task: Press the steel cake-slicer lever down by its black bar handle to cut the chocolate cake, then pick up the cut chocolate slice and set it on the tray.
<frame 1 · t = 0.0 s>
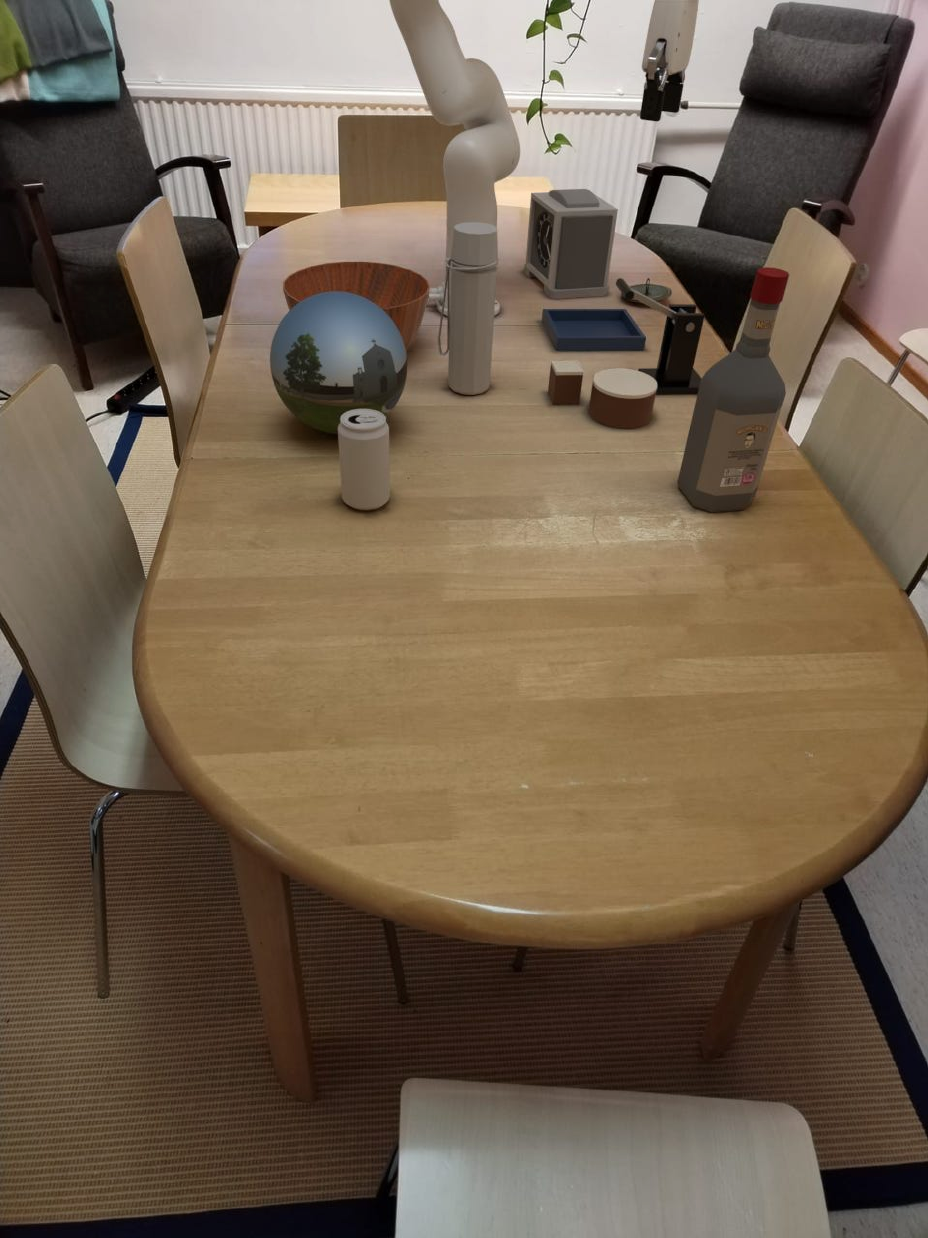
hand: (659, 115, 134), 37 cm above the table, tool pointing down, fingers open, 9 cm apart
decorative sphere: (343, 428, 128), on the table
alarm clock: (564, 283, 184), on the table
slicer: (671, 384, 145), on the table
beverage can: (366, 501, 113), on the table
cake: (619, 414, 135), on the table
liquor: (713, 496, 117), on the table
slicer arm: (656, 305, 136), point 13 cm above the table, hinge at 25.0°
water bottle: (463, 387, 141), on the table
cake slice: (563, 398, 139), on the table
tray: (591, 335, 161), on the table
bowl: (359, 350, 152), on the table
lid: (644, 301, 177), on the table
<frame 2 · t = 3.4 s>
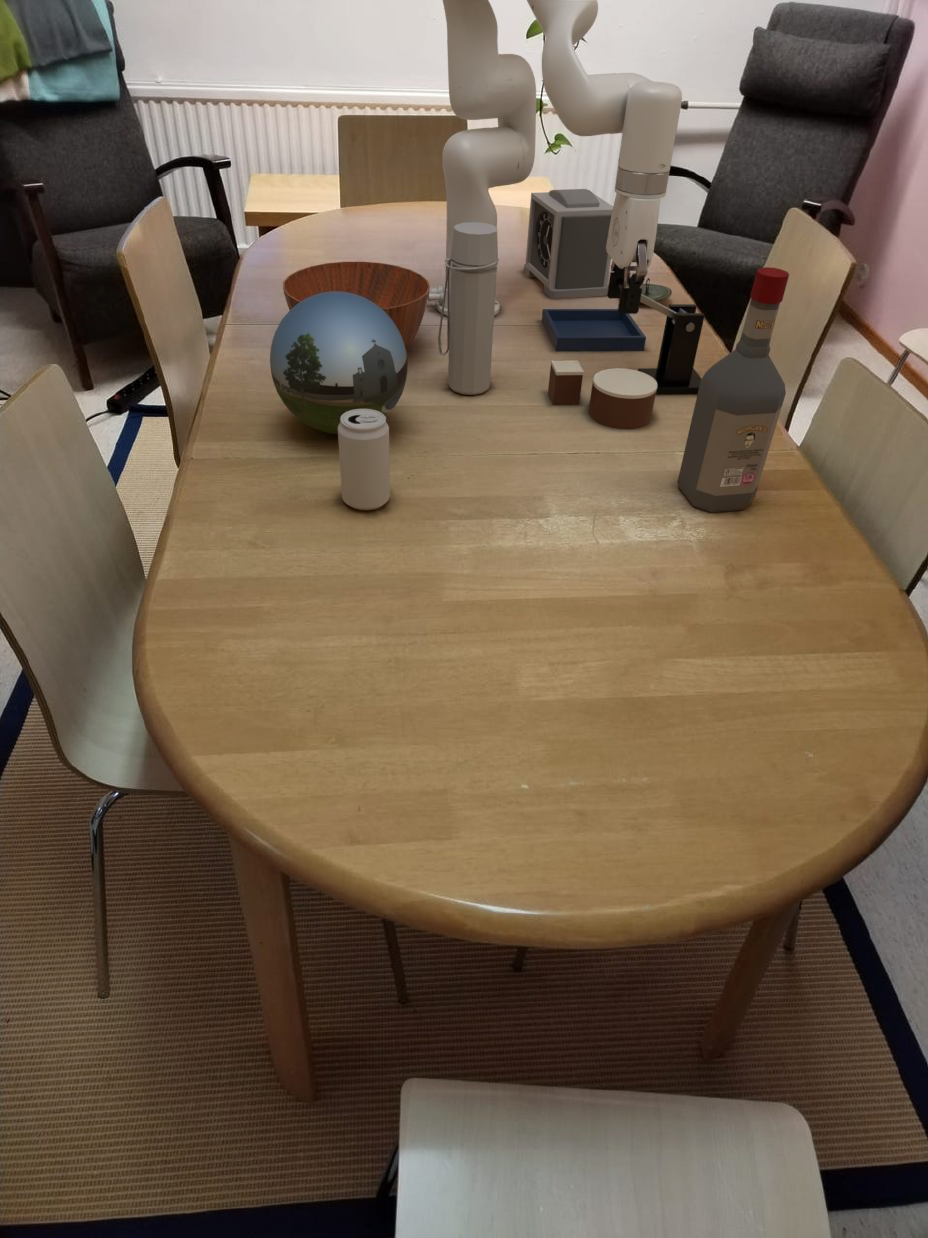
hand: (622, 304, 135), 14 cm above the table, tool pointing down, fingers closed on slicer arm, 6 cm apart
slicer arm: (656, 305, 136), point 13 cm above the table, hinge at 25.0°, touching gripper
everything else where it was.
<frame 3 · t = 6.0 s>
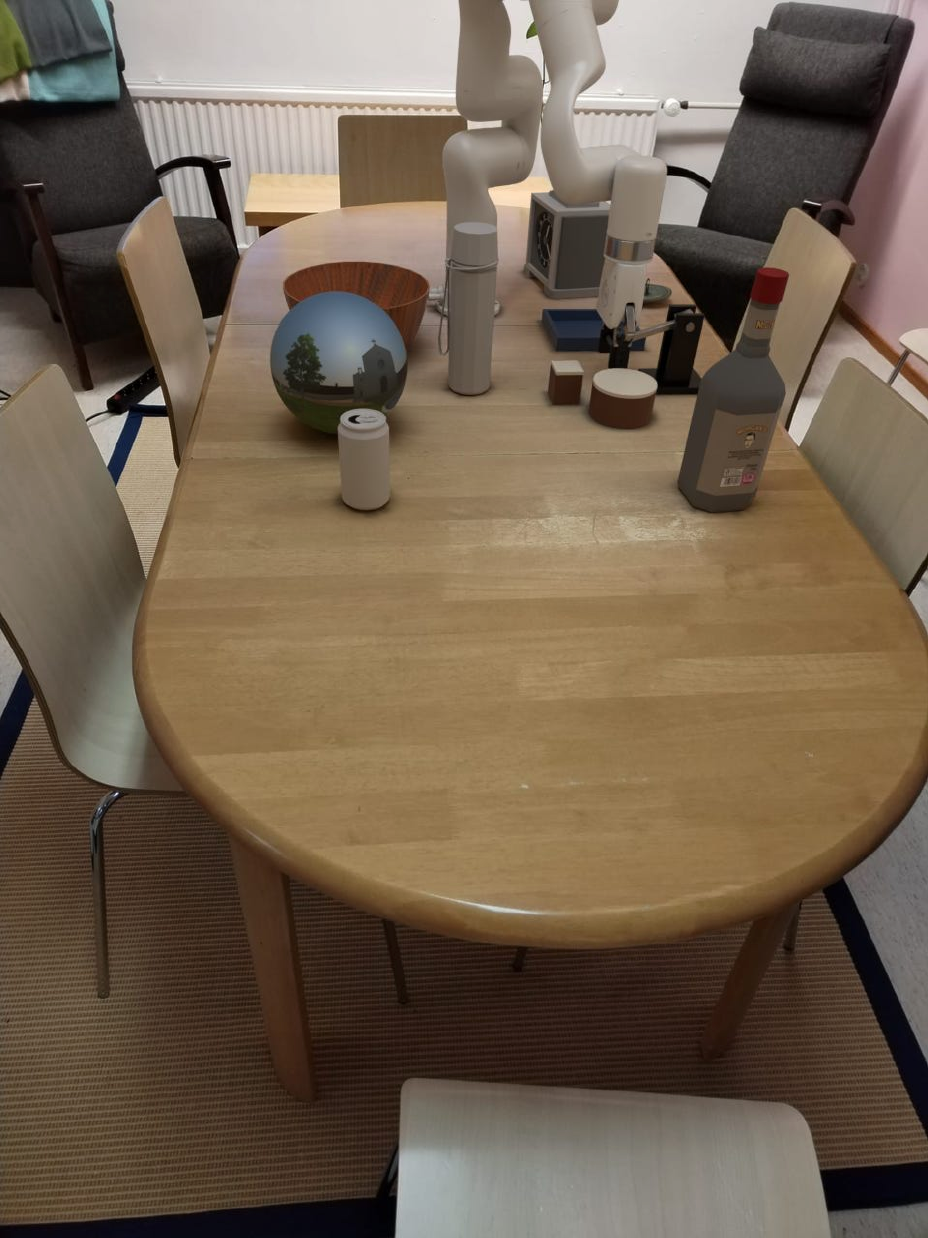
hand: (612, 359, 141), 4 cm above the table, tool pointing down, fingers closed on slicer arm, 6 cm apart
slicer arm: (650, 331, 139), point 9 cm above the table, hinge at -17.9°, touching gripper
everything else where it was.
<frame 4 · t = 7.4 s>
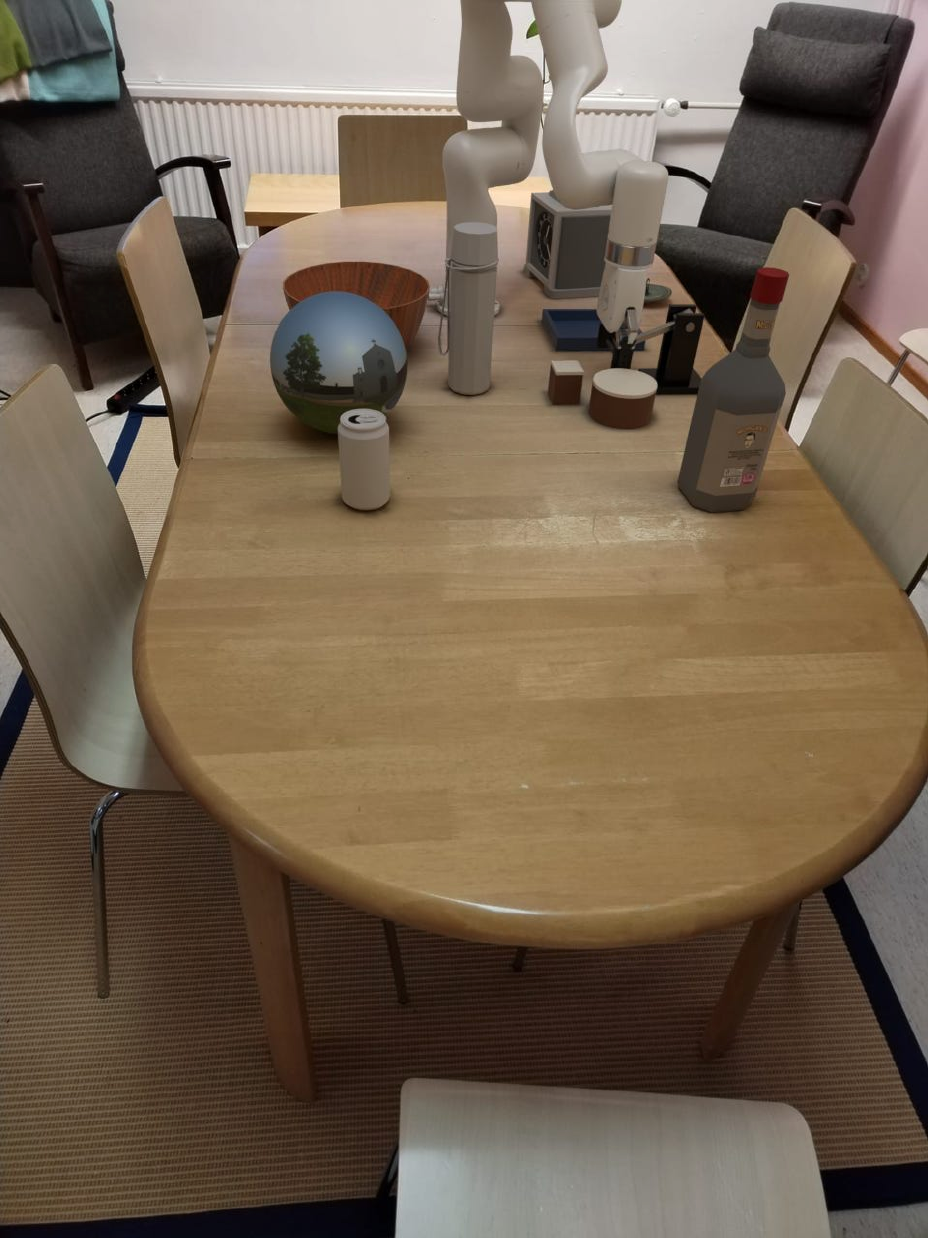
hand: (612, 358, 141), 5 cm above the table, tool pointing down, fingers open, 9 cm apart
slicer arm: (651, 333, 139), point 9 cm above the table, hinge at -22.3°
everything else where it was.
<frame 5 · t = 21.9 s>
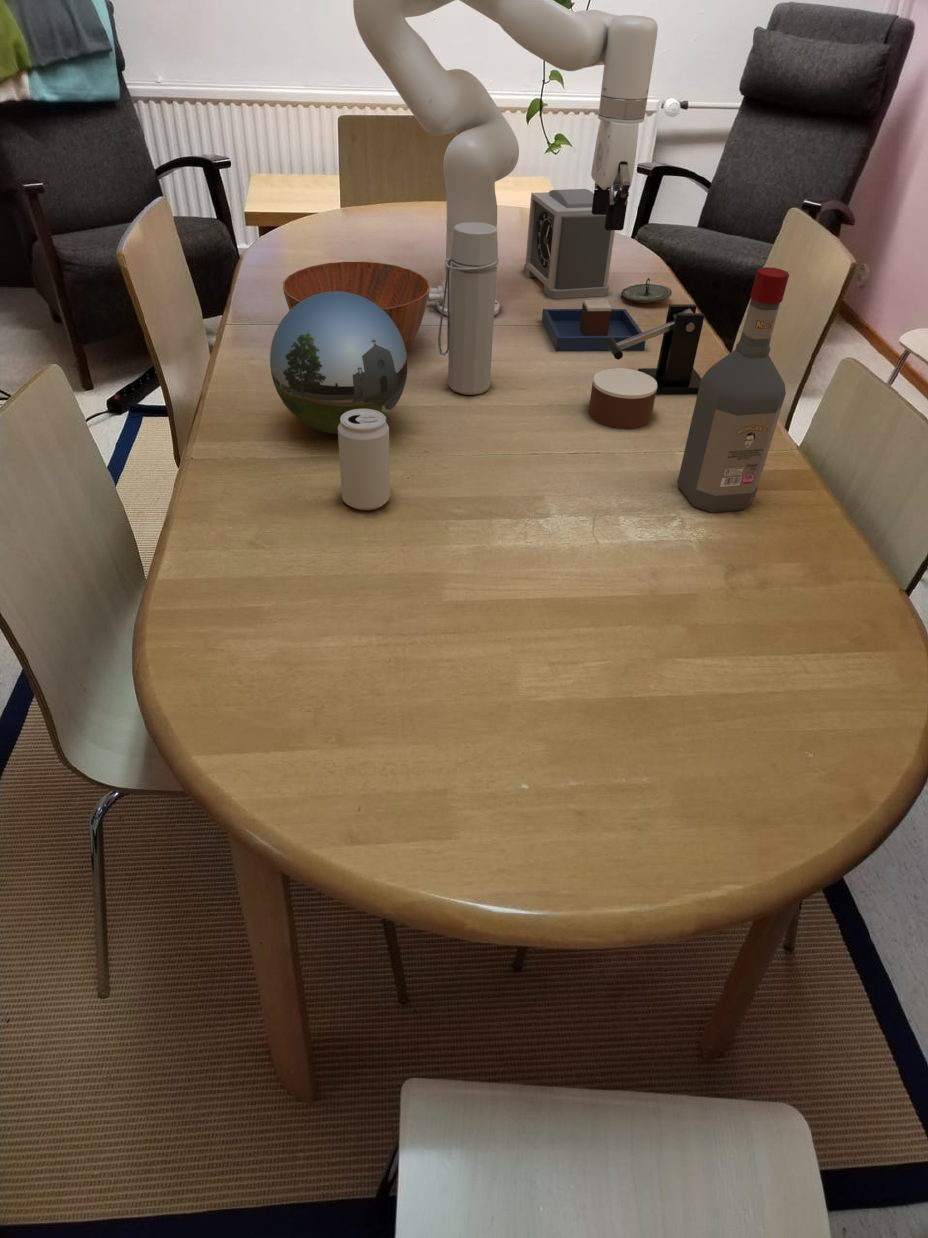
hand: (606, 221, 148), 20 cm above the table, tool pointing down, fingers open, 9 cm apart
cake slice: (593, 333, 160), resting on tray
everything else where it was.
at the end: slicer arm at -22° (first picture: +25°); cake slice inside the target area in the tray (0.3 cm from its centre), point 0.5 cm above the tray's base; the gripper is holding nothing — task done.
